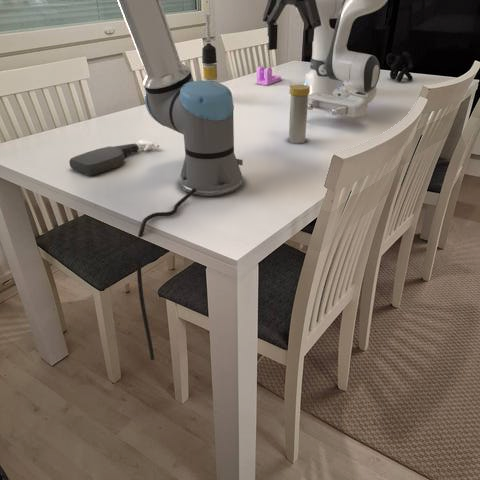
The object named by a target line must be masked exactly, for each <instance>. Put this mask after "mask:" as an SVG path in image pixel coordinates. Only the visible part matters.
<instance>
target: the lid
mask: <svg viewBox="0 0 480 480" xmlns="http://www.w3.org/2000/svg"><path fill="white" fill-rule="evenodd" d="M309 93H310V87H309V86H307V85H304V84H292V85H290V86H289V95H290V96H291V95H295V96H305V95H308V94H309Z"/></svg>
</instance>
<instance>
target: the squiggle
mask: <svg viewBox="0 0 480 480" xmlns="http://www.w3.org/2000/svg"><path fill="white" fill-rule="evenodd" d="M401 57H402V59H401ZM391 59H392V60H391ZM393 60H394V61H393ZM385 61H386V64H387V67H390V68H391V70H390V72H389V78H390V79H391V80H395V79H396V81H397V82H399V83H400V82H402V81H403V79H404V76H406V78H407V80H408V81H412V80H413V79H414V77H413V75H412V74H411V73H410V72H409V71H410V70H412V69H413V68H414V64H413V61H412V57H411V54H410V53H409V52H408V51H403V53H402V54H401V55H396V54H394V53H392V52H390V53H387V55H386V57H385ZM406 62H407V65H408V66H407V67H405V66H404V65H405V64H406ZM400 70H401V71H400Z"/></svg>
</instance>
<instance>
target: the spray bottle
mask: <svg viewBox="0 0 480 480" xmlns="http://www.w3.org/2000/svg"><path fill="white" fill-rule="evenodd" d="M159 148H160V145H159V144H158V143H155V142H151V141H148V140H144V139H139V140H138V141H137V142H135V143H129V144H128V143H126V144H122V145H113V146H105V147H100V148H97V149H94V150H90V151H87V152H83V153H81V154H78V155H74V156H73V157H70V159H69V161H68V162H69V167H70V168H71V169H72V170H74V171H75V172H78V173H81V174H83V175H85V176H89V177H90V176H91V177H92V176H95V175H99V174H102V173H105V172H107V171H110V170H113V169H116V168H118V167H120V166H122V165H123V164H124V163H125V158H126V156H127V155H131V154H133V153H138V151H140V150H143V151H144V152H146V151H147V150H149V149H159Z"/></svg>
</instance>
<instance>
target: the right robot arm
mask: <svg viewBox="0 0 480 480" xmlns="http://www.w3.org/2000/svg"><path fill="white" fill-rule="evenodd" d="M315 1H316V5H317V9H318V13H319V17H320V21H321V26H319V27H316V28H315V29H314V41H313V42H312V48H311V58H310V62H309V64H310V65H309V68H310V70H308V72H306V73H305V79H304V84H303V85H307V86H309V87H310V93H309V94H308V106H307V111H308V110H310V111H312V110H318V111H323V112H328V113H331V115H333V116H338V115H339V116H348V117H352V118H359V117H362V116H365V115H366V114H367V110H368V107H369V106H368V105H369V104H370V103H371V102H372V101H374V99H375V97H376V96H377V90H378V89H377V84H378V82H379V79H380V77H381V76H380V75H381V66H380V62H379V60H378V58H377V57H376V56H375V55H373V54H368V53H364V52H356V51H352V50H348V46H347V45H348V42H349V37H350V34H351V30H352V26H353V23H354V21H356V19H357V18H359V17H362V16H365V15H369V14H372V13H374V12H376V11H378V10H380V9H382V7H384V6H385V5H386V3H387V2H388V1H389V0H315ZM295 9H296V12H297V14H298V15H299V16H300V14H299V12H298V9H297V7H295ZM332 19H333V20H334V19H336V23H335V27H334V28H333V27H331V24H330V20H332ZM315 22H316V21H315ZM344 82H345V83H346V82H347V84H346V85H345V83H344Z"/></svg>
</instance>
